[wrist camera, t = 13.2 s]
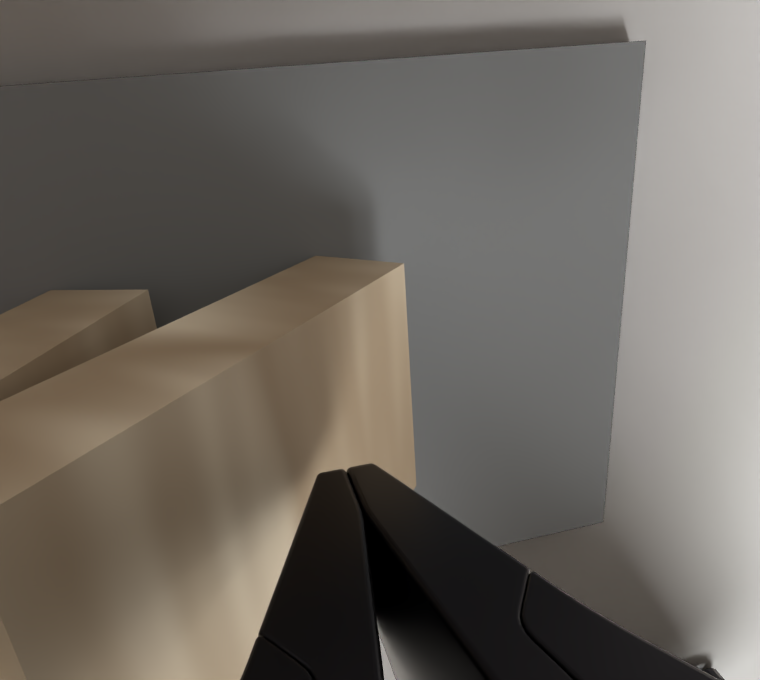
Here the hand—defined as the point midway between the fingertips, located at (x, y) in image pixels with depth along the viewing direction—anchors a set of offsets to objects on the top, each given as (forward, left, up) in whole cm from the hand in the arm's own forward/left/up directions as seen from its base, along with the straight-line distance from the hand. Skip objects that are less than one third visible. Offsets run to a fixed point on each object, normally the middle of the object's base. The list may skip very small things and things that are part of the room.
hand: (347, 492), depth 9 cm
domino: (0, -1, -4) cm, 4 cm away
